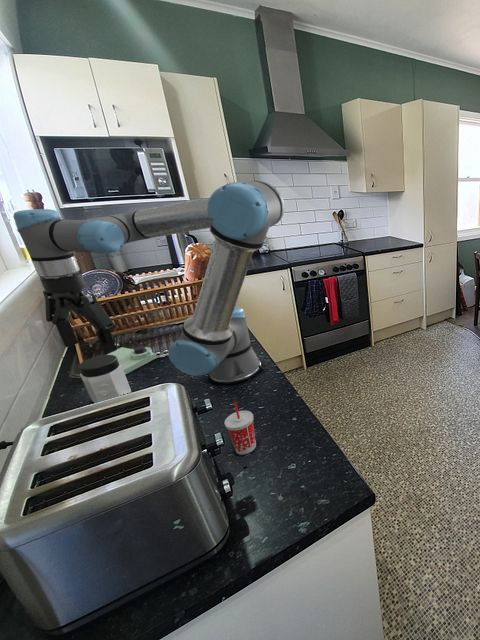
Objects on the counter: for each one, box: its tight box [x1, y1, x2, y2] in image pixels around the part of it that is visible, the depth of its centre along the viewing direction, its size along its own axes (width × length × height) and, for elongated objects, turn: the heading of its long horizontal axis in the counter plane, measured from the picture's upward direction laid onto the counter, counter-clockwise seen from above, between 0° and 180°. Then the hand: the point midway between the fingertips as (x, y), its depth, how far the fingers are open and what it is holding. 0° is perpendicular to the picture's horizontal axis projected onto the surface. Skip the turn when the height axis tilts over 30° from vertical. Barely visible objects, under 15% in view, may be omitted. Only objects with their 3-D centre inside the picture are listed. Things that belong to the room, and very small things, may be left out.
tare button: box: [133, 345, 146, 354], centre depth 119 cm, size 3×3×2 cm
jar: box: [77, 354, 132, 404], centre depth 99 cm, size 9×8×12 cm
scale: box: [107, 346, 158, 376], centre depth 118 cm, size 15×12×4 cm
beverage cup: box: [224, 400, 257, 455], centre depth 83 cm, size 6×6×14 cm
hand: (91, 348), depth 95 cm, fingers open, 13 cm apart
